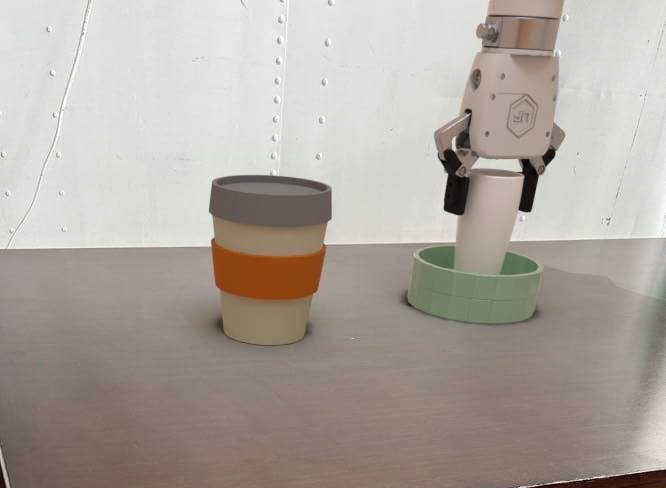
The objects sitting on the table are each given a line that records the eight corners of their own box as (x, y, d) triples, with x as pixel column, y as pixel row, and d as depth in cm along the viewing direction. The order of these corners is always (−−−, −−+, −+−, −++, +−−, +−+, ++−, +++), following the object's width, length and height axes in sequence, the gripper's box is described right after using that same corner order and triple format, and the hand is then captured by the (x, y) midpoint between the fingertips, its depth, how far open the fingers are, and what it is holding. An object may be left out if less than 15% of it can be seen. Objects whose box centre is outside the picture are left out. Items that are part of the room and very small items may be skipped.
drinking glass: (472, 315, 96) (498, 178, 88) (431, 300, 101) (452, 169, 93) (509, 308, 100) (538, 175, 92) (468, 294, 105) (491, 166, 97)
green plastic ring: (520, 297, 107) (530, 249, 104) (542, 333, 94) (555, 280, 91) (404, 288, 108) (410, 241, 104) (410, 323, 95) (418, 270, 92)
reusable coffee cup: (246, 358, 82) (253, 199, 74) (186, 322, 91) (186, 177, 83) (344, 340, 88) (360, 192, 80) (278, 309, 97) (287, 172, 89)
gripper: (473, 36, 80) (444, 221, 89) (607, 43, 86) (567, 215, 95) (430, 33, 85) (406, 208, 94) (558, 41, 92) (525, 203, 101)
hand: (487, 211), depth 95 cm, fingers open, 9 cm apart
